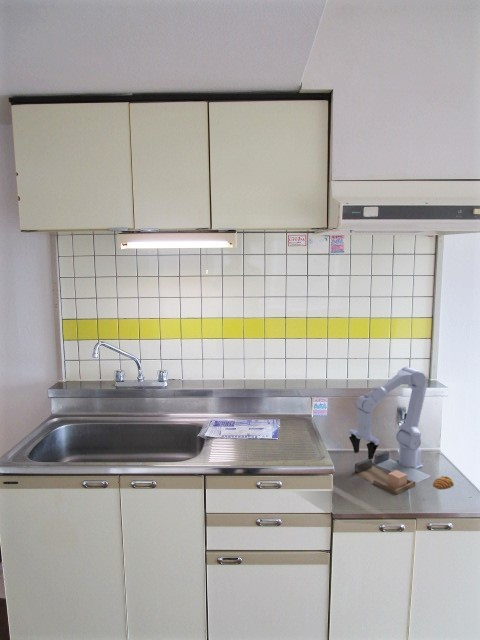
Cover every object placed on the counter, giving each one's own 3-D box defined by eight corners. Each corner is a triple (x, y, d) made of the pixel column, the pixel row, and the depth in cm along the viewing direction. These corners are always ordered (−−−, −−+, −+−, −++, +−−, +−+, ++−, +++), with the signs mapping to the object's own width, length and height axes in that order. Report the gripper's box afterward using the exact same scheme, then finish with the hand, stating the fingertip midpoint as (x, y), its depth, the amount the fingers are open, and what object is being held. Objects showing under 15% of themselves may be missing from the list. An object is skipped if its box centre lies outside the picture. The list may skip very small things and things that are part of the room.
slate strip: (386, 460, 197) (387, 449, 196) (431, 479, 178) (431, 467, 178) (372, 466, 191) (372, 455, 190) (416, 486, 173) (417, 474, 172)
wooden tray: (370, 468, 189) (370, 457, 188) (415, 489, 171) (415, 477, 170) (351, 475, 182) (352, 464, 182) (396, 498, 164) (396, 485, 163)
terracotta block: (395, 481, 174) (396, 469, 173) (406, 486, 170) (407, 474, 169) (388, 485, 171) (388, 473, 171) (398, 490, 167) (399, 478, 166)
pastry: (444, 495, 166) (445, 486, 166) (427, 489, 171) (428, 480, 171) (455, 487, 172) (455, 478, 172) (438, 481, 177) (439, 472, 177)
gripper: (344, 421, 186) (344, 451, 187) (371, 432, 174) (371, 464, 176) (355, 418, 190) (355, 448, 191) (383, 428, 178) (382, 459, 179)
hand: (363, 455), depth 184 cm, fingers open, 7 cm apart
